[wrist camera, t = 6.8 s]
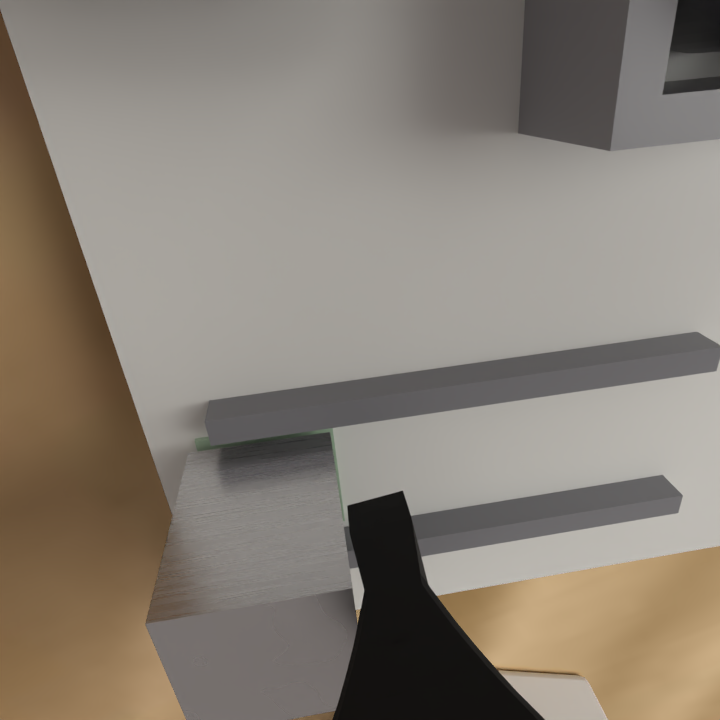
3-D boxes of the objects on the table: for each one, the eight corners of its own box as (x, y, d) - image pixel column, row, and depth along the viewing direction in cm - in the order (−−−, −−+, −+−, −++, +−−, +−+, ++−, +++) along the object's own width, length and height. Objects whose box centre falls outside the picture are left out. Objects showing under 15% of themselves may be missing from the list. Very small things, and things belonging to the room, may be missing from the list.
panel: (1157, -527, 8) (2061, -1159, 4) (773, 495, 17) (921, 617, 13) (-127, -519, 6) (-791, -1508, 2) (218, 589, 16) (198, 757, 12)
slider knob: (330, 431, 11) (352, 588, 8) (343, 533, 13) (368, 705, 9) (188, 452, 11) (145, 624, 8) (218, 553, 12) (193, 738, 9)
